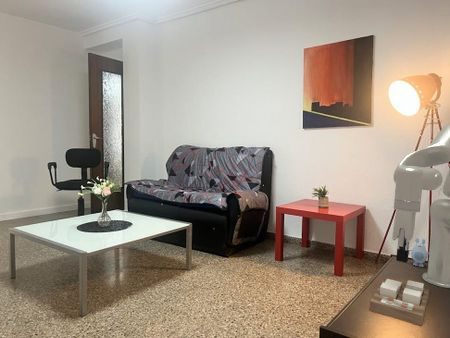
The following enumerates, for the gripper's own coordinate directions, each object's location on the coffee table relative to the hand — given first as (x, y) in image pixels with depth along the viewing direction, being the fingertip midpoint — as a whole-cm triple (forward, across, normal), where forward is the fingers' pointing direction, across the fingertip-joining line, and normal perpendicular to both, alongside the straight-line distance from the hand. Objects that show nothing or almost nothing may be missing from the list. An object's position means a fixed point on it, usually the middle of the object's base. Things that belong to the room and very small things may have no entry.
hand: (401, 261), depth 111 cm
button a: (+12, -4, -3) cm, 13 cm away
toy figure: (+13, -43, 0) cm, 45 cm away
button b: (+11, -4, +4) cm, 12 cm away
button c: (+11, +4, -2) cm, 12 cm away
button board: (+13, +2, +1) cm, 14 cm away
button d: (+11, +4, +4) cm, 12 cm away
